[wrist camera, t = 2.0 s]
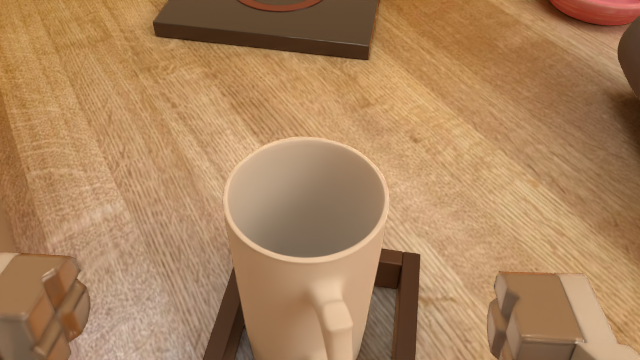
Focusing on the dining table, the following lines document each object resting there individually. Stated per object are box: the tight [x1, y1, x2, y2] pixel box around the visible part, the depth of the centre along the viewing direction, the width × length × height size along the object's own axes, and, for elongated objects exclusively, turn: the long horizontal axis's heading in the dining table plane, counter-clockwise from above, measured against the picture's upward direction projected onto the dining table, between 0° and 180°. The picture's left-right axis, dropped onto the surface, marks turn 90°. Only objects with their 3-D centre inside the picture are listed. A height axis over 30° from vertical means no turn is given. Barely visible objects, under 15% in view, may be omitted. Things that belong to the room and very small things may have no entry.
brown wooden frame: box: [203, 249, 420, 360], centre depth 29 cm, size 10×13×2 cm
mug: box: [222, 137, 390, 360], centre depth 26 cm, size 10×7×12 cm, turn 13°
